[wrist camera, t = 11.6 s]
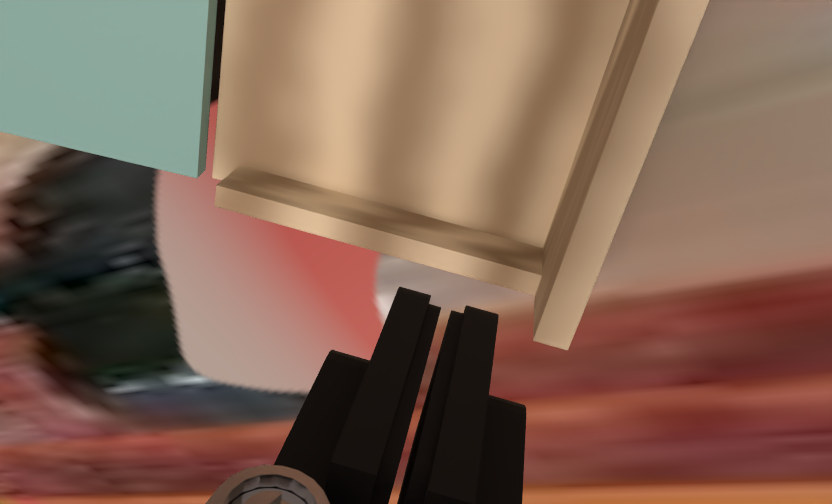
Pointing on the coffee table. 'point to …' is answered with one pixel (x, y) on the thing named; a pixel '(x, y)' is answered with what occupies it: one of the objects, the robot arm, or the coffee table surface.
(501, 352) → the coffee table surface
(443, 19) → the trailer bed
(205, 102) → the panel
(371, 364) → the robot arm
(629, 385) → the coffee table surface
